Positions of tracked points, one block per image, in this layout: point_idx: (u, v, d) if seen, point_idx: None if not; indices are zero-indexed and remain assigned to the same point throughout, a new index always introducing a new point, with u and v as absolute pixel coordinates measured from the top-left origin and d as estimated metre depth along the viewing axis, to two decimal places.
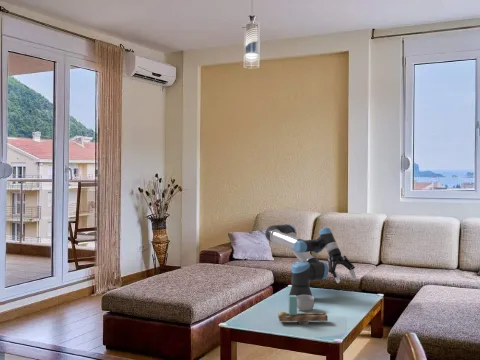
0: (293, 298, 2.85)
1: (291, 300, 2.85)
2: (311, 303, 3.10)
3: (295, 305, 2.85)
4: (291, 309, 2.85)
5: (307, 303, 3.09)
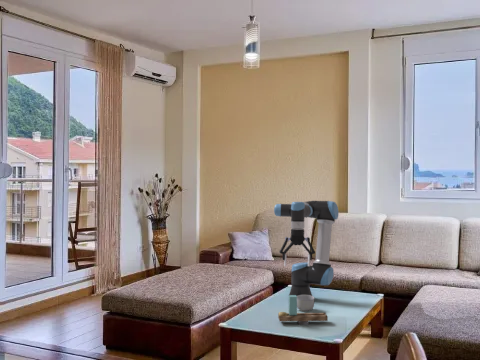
0: (293, 298, 2.85)
1: (291, 300, 2.85)
2: (311, 303, 3.10)
3: (295, 305, 2.85)
4: (291, 309, 2.85)
5: (307, 303, 3.09)
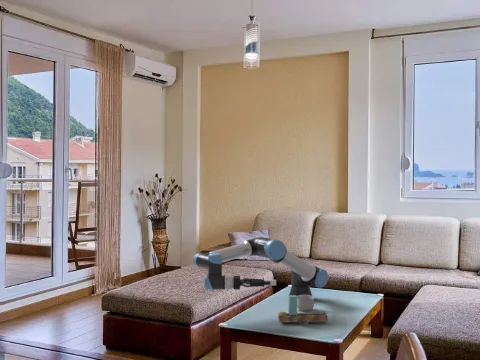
0: (293, 298, 2.85)
1: (291, 300, 2.85)
2: (311, 303, 3.10)
3: (295, 305, 2.85)
4: (291, 309, 2.85)
5: (307, 303, 3.09)
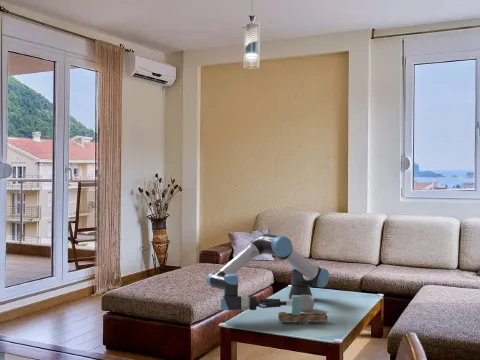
0: (296, 298, 2.85)
1: (294, 300, 2.85)
2: (311, 303, 3.10)
3: (298, 305, 2.85)
4: (294, 309, 2.85)
5: (307, 303, 3.09)
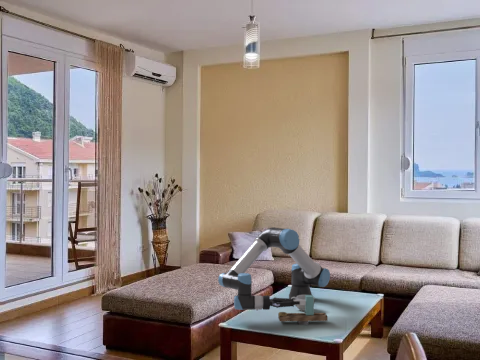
0: (310, 298, 2.86)
1: (308, 300, 2.86)
2: None
3: (312, 305, 2.86)
4: (308, 309, 2.86)
5: None
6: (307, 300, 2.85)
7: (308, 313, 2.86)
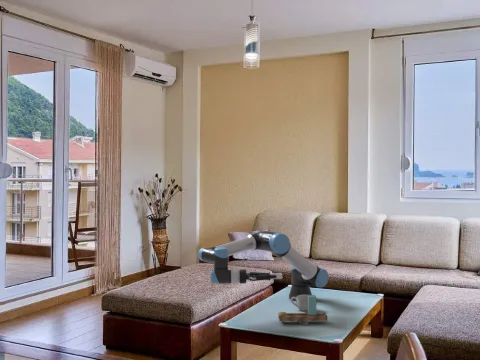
0: (312, 298, 2.86)
1: (310, 300, 2.86)
2: None
3: (314, 305, 2.86)
4: (310, 309, 2.86)
5: (307, 303, 3.09)
6: (310, 300, 2.86)
7: (311, 313, 2.86)
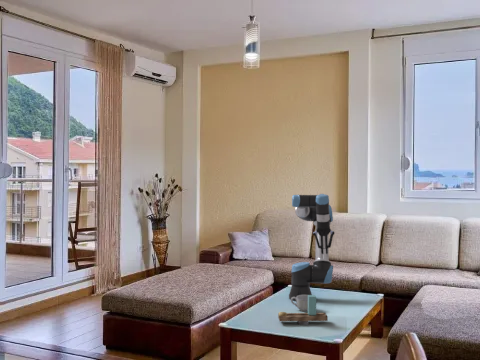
0: (312, 298, 2.86)
1: (310, 300, 2.86)
2: None
3: (314, 305, 2.86)
4: (310, 309, 2.86)
5: (307, 303, 3.09)
6: (310, 300, 2.86)
7: (311, 313, 2.86)
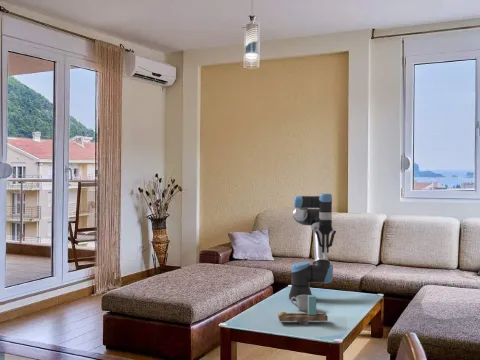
0: (312, 298, 2.86)
1: (310, 300, 2.86)
2: None
3: (314, 305, 2.86)
4: (310, 309, 2.86)
5: (307, 303, 3.09)
6: (310, 300, 2.86)
7: (311, 313, 2.86)
